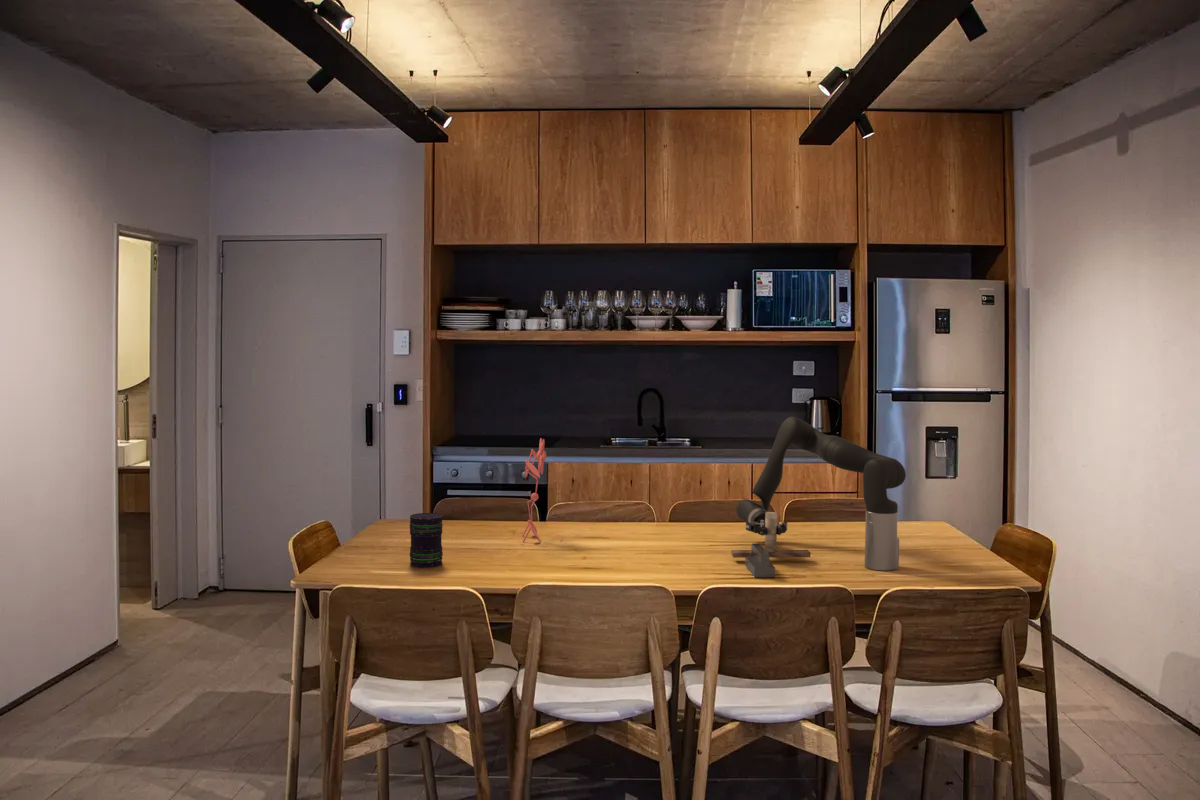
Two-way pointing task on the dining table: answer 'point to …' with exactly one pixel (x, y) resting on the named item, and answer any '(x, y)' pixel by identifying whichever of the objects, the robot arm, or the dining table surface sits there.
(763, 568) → the ridge
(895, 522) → the robot arm
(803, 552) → the balance bar
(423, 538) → the storage jar
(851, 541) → the dining table surface
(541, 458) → the figurine
